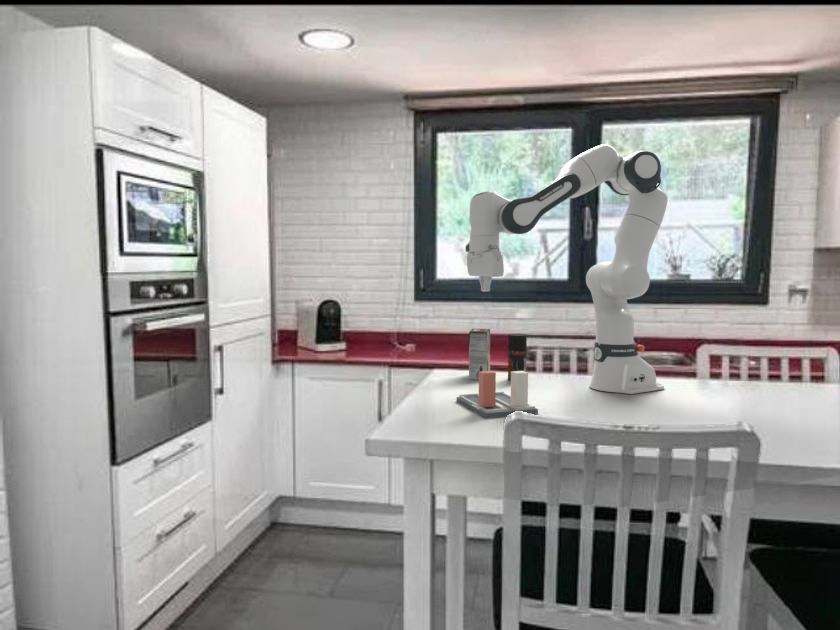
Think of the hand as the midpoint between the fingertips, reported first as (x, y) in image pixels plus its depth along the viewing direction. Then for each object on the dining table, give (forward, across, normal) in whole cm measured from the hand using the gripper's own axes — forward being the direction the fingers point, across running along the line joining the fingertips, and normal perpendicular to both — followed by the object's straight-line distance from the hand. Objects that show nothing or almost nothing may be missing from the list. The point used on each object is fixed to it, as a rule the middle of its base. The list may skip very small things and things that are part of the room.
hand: (485, 291), depth 195 cm
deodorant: (+31, +11, -15) cm, 36 cm away
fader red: (+29, -26, +11) cm, 40 cm away
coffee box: (+30, +19, -5) cm, 36 cm away
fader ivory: (+29, -29, +3) cm, 41 cm away
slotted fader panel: (+30, -23, +7) cm, 38 cm away
